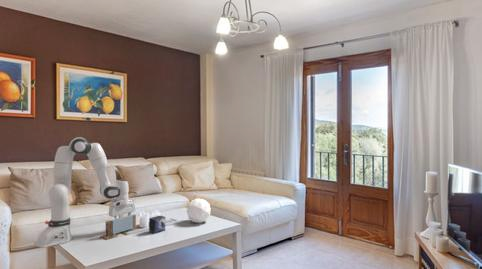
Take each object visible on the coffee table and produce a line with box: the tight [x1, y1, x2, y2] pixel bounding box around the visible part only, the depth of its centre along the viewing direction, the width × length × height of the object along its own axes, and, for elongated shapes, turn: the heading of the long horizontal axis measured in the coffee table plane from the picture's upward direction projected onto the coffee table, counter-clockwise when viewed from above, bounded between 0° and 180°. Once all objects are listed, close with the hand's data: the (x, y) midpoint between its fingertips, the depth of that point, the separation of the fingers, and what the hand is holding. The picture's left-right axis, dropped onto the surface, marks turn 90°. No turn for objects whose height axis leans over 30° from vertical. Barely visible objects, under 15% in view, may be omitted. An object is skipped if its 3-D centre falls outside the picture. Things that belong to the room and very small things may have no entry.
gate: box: [110, 214, 137, 235], centre depth 242 cm, size 20×2×10 cm, turn 146°
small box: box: [148, 214, 166, 235], centre depth 246 cm, size 11×6×10 cm, turn 143°
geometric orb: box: [186, 198, 212, 224], centre depth 270 cm, size 19×20×20 cm
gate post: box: [99, 220, 118, 241], centre depth 232 cm, size 8×8×11 cm
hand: (122, 219), depth 246 cm, fingers open, 8 cm apart
